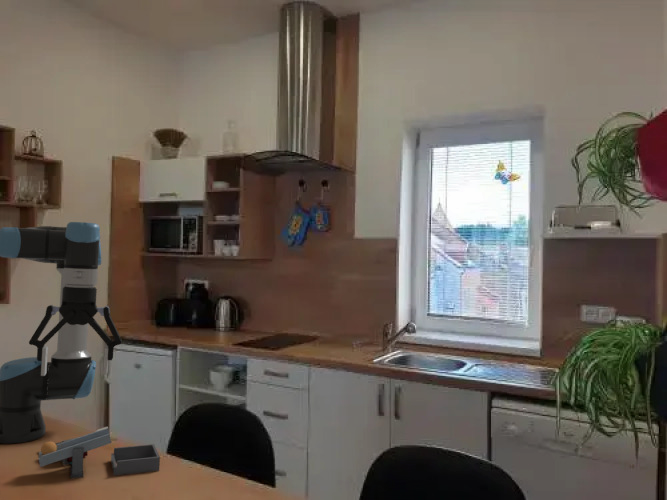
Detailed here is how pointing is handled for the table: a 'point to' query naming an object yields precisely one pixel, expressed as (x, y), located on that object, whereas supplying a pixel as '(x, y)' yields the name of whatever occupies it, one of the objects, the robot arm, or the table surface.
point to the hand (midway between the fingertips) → (74, 374)
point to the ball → (48, 448)
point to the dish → (135, 459)
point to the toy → (69, 460)
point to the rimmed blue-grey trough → (76, 446)
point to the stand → (77, 463)
